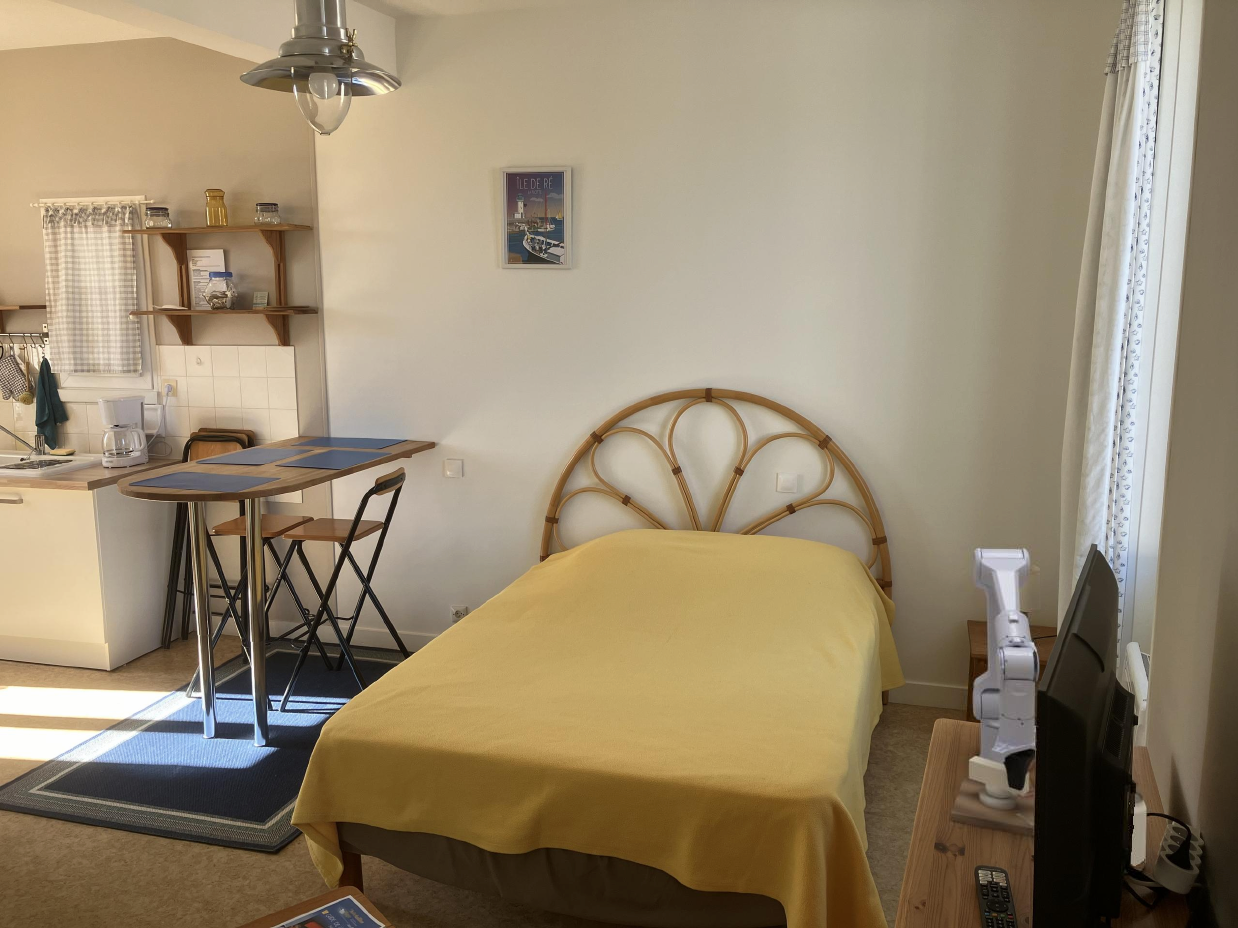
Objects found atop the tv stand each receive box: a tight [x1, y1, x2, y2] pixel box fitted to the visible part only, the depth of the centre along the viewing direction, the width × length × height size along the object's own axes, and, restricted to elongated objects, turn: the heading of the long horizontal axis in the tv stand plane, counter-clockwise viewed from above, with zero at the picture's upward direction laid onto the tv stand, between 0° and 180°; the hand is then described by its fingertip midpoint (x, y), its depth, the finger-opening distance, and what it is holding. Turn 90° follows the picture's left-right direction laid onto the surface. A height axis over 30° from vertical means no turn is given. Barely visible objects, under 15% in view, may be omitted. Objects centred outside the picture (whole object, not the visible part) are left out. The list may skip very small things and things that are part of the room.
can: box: [1129, 790, 1147, 866], centre depth 153 cm, size 6×6×12 cm
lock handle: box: [968, 755, 1030, 798], centre depth 172 cm, size 10×4×5 cm, turn 43°
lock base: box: [950, 776, 1035, 837], centre depth 172 cm, size 15×14×3 cm
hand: (1016, 787), depth 168 cm, fingers closed
